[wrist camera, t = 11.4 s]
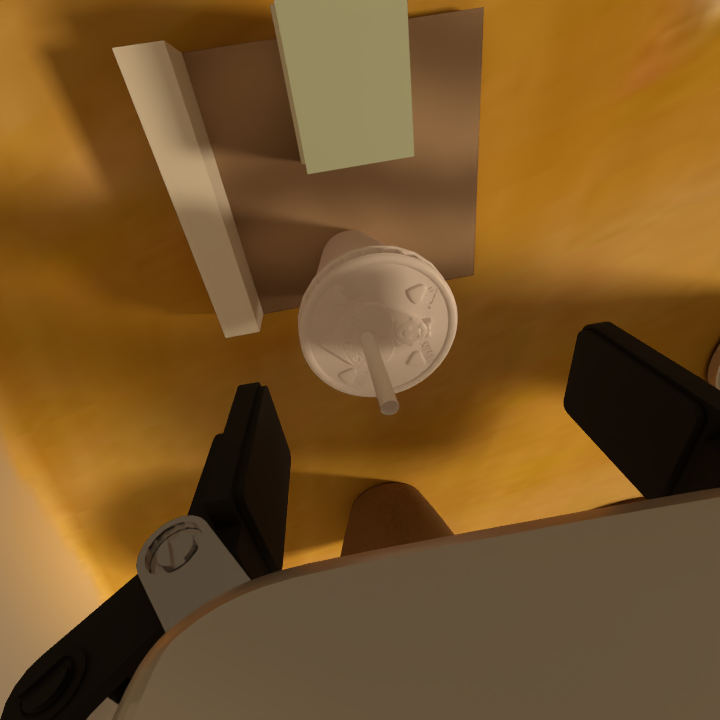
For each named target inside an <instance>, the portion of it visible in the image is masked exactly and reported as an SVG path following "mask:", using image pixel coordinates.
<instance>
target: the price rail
mask: <svg viewBox="0 0 720 720" xmlns="http://www.w3.org/2000/svg"><path fill="white" fill-rule="evenodd" d="M112 50H113V52H114V55H115V57H116V60H117V63H118V65H119V68H120V70H121V73H122V75H123V78H124V80H125V83H126V85H127V88H128V91H129V93H130V96H131V98H132V101H133V103H134V106H135V108H136V111H137V113H138V116H139V119H140V121H141V124H142V126H143V129H144V131H145V134H146V136H147V139H148V142H149V144H150V147H151V149H152V152H153V154H154V157H155V159H156V162H157V164H158V167H159V170H160V172H161V175H162V177H163V180H164V182H165V185H166V187H167V190H168V192H169V195H170V198H171V200H172V203H173V205H174V208H175V210H176V213H177V215H178V218H179V220H180V223H181V226H182V228H183V231H184V233H185V236H186V238H187V241H188V243H189V246H190V249H191V251H192V254H193V256H194V259H195V261H196V264H197V266H198V269H199V271H200V274H201V277H202V279H203V282H204V284H205V287H206V289H207V292H208V294H209V297H210V299H211V302H212V305H213V307H214V310H215V312H216V315H217V317H218V320H219V322H220V325H221V327H222V330H223V333H224V335H225V338H229V337H234V336H240V335H245V334H250V333H256V332H260V328H261V323H262V318H263V311H262V308H261V305H260V301H259V298H258V295H257V292H256V289H255V285H254V282H253V279H252V276H251V273H250V269H249V266H248V263H247V260H246V257H245V253H244V250H243V247H242V244H241V241H240V237H239V234H238V231H237V228H236V225H235V221H234V218H233V215H232V212H231V209H230V205H229V202H228V199H227V196H226V193H225V190H224V186H223V183H222V180H221V177H220V174H219V170H218V167H217V164H216V161H215V158H214V154H213V151H212V148H211V145H210V142H209V138H208V135H207V132H206V129H205V126H204V122H203V119H202V116H201V113H200V110H199V106H198V103H197V100H196V97H195V94H194V90H193V87H192V84H191V81H190V78H189V75H188V71H187V68H186V65H185V62H184V59H183V55H182V53H181V52H180V51H178V50H177V49H176V48H174V47H173V46H171V45H170V44H168V43H167V42H166V41H164V40H162V41H156V42H149V43H142V44H135V45H129V46H122V47H115V48H112Z"/></svg>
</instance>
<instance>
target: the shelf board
mask: <svg viewBox="0 0 720 720" xmlns="http://www.w3.org/2000/svg"><path fill="white" fill-rule="evenodd" d="M483 14H484V7H482V8H475V9H469V10H462V11H455V12H449V13H442V14H435V15H429V16H422V17H416V18H409V19H408V30H409V52H410V73H411V94H412V116H413V137H414V156H413V157H407V158H401V159H395V160H389V161H383V162H377V163H371V164H365V165H360V166H354V167H348V168H342V169H336V170H330V171H324V172H318V173H312V174H307V169H306V164H301V159H300V154H299V149H298V144H297V139H296V134H295V129H294V124H293V118H292V113H291V108H290V103H289V98H288V93H287V88H286V83H285V78H284V73H283V68H282V63H281V58H280V53H279V48H278V43H277V38H276V39H270V40H263V41H256V42H250V43H243V44H236V45H230V46H223V47H216V48H210V49H203V50H197V51H190V52H183V53H182V55H183V59H184V62H185V65H186V68H187V71H188V75H189V78H190V81H191V84H192V87H193V90H194V94H195V97H196V100H197V103H198V106H199V110H200V113H201V116H202V119H203V122H204V126H205V129H206V132H207V135H208V138H209V142H210V145H211V148H212V151H213V154H214V158H215V161H216V164H217V167H218V170H219V174H220V177H221V180H222V183H223V186H224V190H225V193H226V196H227V199H228V202H229V205H230V209H231V212H232V215H233V218H234V221H235V225H236V228H237V231H238V234H239V237H240V241H241V244H242V247H243V250H244V253H245V257H246V260H247V263H248V266H249V269H250V273H251V276H252V279H253V282H254V285H255V289H256V292H257V295H258V298H259V301H260V305H261V308H262V311H263V314H266V313H271V312H277V311H282V310H287V309H293V308H298V307H300V305H301V301H302V297H303V295H304V294H305V292H306V290H307V288H308V287H309V285H310V283H311V281H312V280H313V278H314V277H315V276H316V274H317V270H318V267H319V263H320V259H321V256H322V252H323V249H324V247H325V245H326V244H327V242H328V241H329V240H330V239H331V238H332V237H333V236H335V235H336V234H338V233H340V232H343V231H347V230H356V231H361V232H363V233H365V234H367V235H369V236H371V237H372V238H374V239H376V240H378V241H379V242H381V243H383V244H385V245H386V246H397V247H400V248H404V249H407V250H410V251H414V252H416V253H417V254H419V255H420V256H422V257H423V258H425V259H426V260H428V261H429V262H431V263H432V264H433V265H434V266H435V268H436V269H437V270H438V271H439V273H440V274H441V275H442V276H443V278H444V279H445V280H450V279H455V278H460V277H466V276H471V275H474V251H475V225H476V198H477V172H478V146H479V119H480V93H481V66H482V40H483Z"/></svg>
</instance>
